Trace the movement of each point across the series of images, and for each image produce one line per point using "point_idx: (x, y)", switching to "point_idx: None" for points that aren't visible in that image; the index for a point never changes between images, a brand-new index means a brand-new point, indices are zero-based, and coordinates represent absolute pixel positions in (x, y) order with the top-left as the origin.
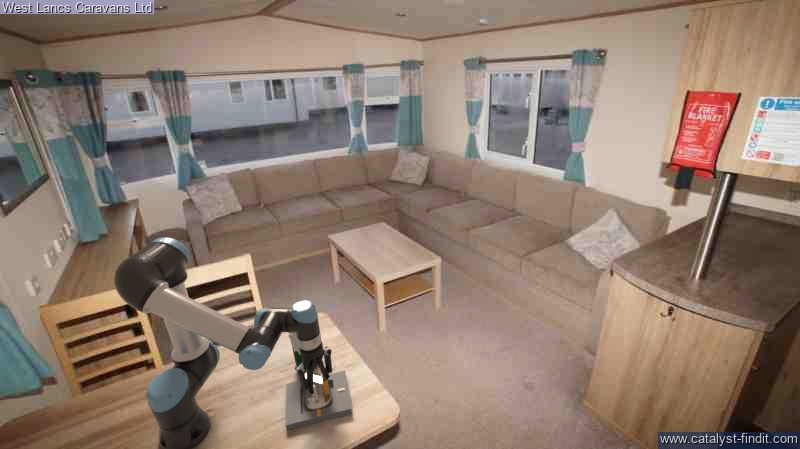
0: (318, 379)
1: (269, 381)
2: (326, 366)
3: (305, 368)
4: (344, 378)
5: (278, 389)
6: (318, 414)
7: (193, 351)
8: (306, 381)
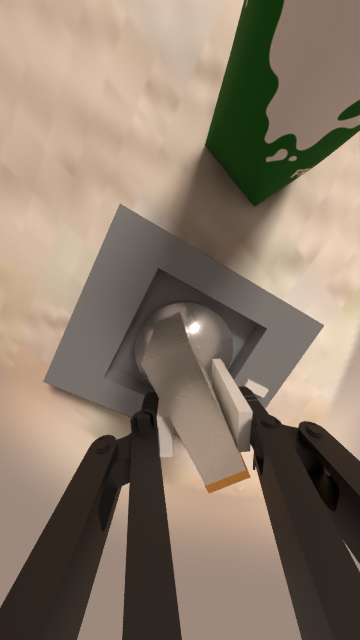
0: (211, 449)
1: (83, 105)
2: (330, 467)
3: (232, 173)
4: (295, 355)
5: (98, 188)
6: None
7: None
8: (84, 601)
